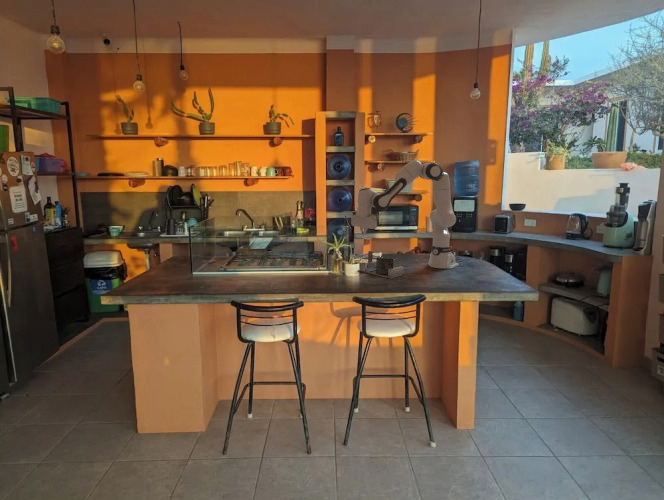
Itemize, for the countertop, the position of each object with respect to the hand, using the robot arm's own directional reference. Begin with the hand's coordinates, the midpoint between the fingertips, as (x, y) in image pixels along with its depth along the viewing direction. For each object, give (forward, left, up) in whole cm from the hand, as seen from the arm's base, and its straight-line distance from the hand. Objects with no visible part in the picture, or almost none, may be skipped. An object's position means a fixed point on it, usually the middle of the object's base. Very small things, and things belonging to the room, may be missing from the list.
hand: (363, 234), depth 292 cm
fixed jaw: (0, +16, -23) cm, 28 cm away
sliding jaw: (0, +7, -23) cm, 24 cm away
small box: (0, +19, -23) cm, 30 cm away
